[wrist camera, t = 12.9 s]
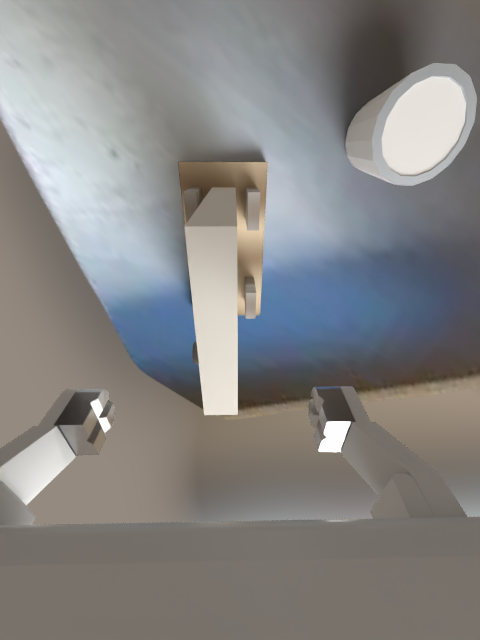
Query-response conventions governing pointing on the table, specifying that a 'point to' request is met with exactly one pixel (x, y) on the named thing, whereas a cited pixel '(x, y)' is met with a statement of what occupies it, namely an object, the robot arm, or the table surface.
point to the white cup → (414, 126)
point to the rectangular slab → (215, 298)
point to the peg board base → (249, 217)
